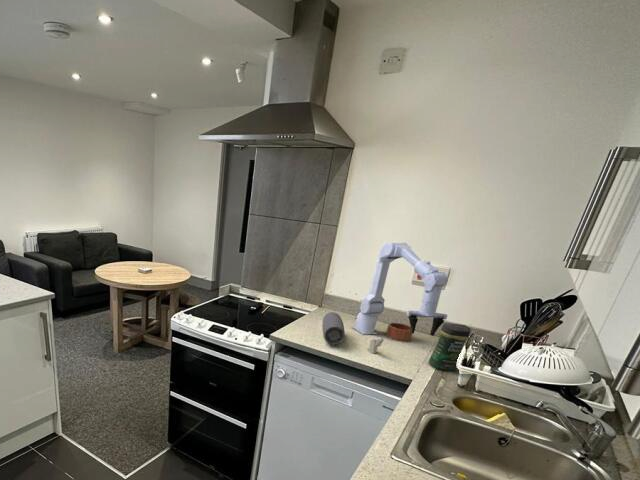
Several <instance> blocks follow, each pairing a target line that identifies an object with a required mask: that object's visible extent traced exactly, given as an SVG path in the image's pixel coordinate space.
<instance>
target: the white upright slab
mask: <svg viewBox="0 0 640 480" xmlns="http://www.w3.org/2000/svg"><path fill="white" fill-rule="evenodd" d="M383 343H384V338H383V337H380V336H379V337H378V338H377V339H374V338H373V339H372V340H370V343H369V346H368V351H369V352H370V353H371V354H377V351H378V347H381V346H382V344H383Z"/></svg>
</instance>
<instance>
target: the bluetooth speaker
mask: <svg viewBox="0 0 640 480" xmlns="http://www.w3.org/2000/svg"><path fill="white" fill-rule="evenodd" d="M321 327H322V334H323V337H324V340H325V341H326V342H327V343H328V344H329V345H338V344H341V343H342V342H343V341H344V340H345V335H346V331H345V325H344V322H343V319H342V317H341V316H340V314H339V313H337V312H335V311H331V312H328V313H326V314H325V315H324V316H323V317H322V325H321Z"/></svg>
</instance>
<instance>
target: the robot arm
mask: <svg viewBox="0 0 640 480" xmlns="http://www.w3.org/2000/svg"><path fill="white" fill-rule="evenodd" d="M402 258H403V259H404V260H405V261H407V263H409V264H411V265H412V267H414V272H415V273H416V274H417V275H418V276H419V277H420V278H421V279H422V280H423V285H424V287H423V290H424V291H423V296H422V300H421V304H420V308H419V310H406V311H407V312H406V316H407V317H408V321H409V326H410V327H411V332H410V333H412V335H414V334H415V331H416V326H417V323H418V321H419V319H418V318H429V319H432V325H431V329H430V333H429V334H430V336H432V337H434V336H435V334H436V332H437V331H438V330H439V328H440V327H441V326H442V325H444V322H445V320H446V321H447V318H448V314H446V313H439V312H437V310H438V305H439V301H440V297H441V293H442V291H443V290H442V289H443V287H444V286H446V285H447V283H448V280H449V279H448V275H447V274H446V272H444V271H439V269H438V268H436V267H434V265H432V264H431V261H430V260H422V259H421V258H420V257H419V256H418V255H417V254H416V253H415V252H414V251H413V250H412V246H411V245H409V244H408V243H407V242H391V241H388V242H385V243H384V244H382V245H381V248H380V252H379V255H378V256H377V260H376V265H375V269H374V274H373V277H372V282H371V286H370V291H369V294H368V295H366V296H364V297H363V299H362V302H361V303H360V306H359V310H360V312H359V313H358V314H357V315H356V320H355V324H354V326H352V329H355V330H356V331H358V332H359V333H360V334H361V335H378V332H376V331H375V329H376V325H377V321H378V317H379V316H380V314H382V313H383V312H384V310H385V301H386V300H385V298H384V297H383V293H384V289H385V284H386V280H387V277H388V273H389V268H390V266H391V265H390V264H391V263H392V262H395V260H398V259H402Z"/></svg>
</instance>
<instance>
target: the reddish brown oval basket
mask: <svg viewBox="0 0 640 480" xmlns="http://www.w3.org/2000/svg"><path fill="white" fill-rule="evenodd" d="M410 332H411V326H410V325H408V324H405V323H399V322H389V323H388V325H387V327H386V331H385V336H386V337H387V338H389V339H391V340H394V341H398V342H410V341H411V339H412V335H413V334H412V333H410Z"/></svg>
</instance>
